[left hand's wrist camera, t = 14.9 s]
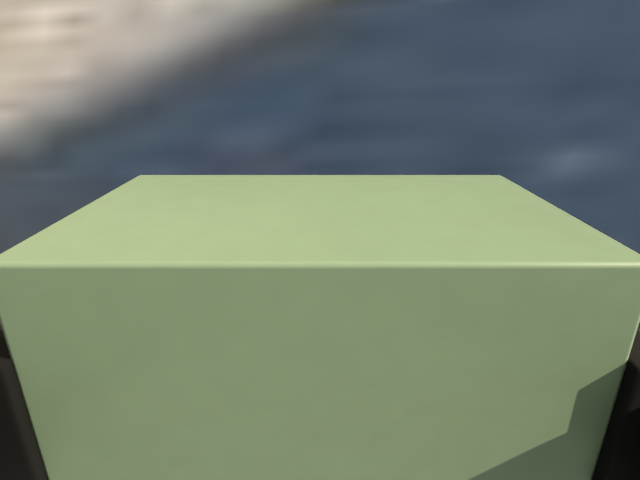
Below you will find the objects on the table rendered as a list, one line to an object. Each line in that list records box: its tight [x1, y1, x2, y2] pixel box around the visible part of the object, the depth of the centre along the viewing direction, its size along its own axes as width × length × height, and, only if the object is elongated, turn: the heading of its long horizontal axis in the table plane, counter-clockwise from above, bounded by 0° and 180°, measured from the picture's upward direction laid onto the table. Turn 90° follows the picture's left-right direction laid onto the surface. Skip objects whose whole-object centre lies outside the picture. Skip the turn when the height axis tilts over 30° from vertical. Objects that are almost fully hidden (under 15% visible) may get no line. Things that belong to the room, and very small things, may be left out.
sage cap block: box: [0, 175, 640, 480], centre depth 10 cm, size 10×6×6 cm, turn 90°
